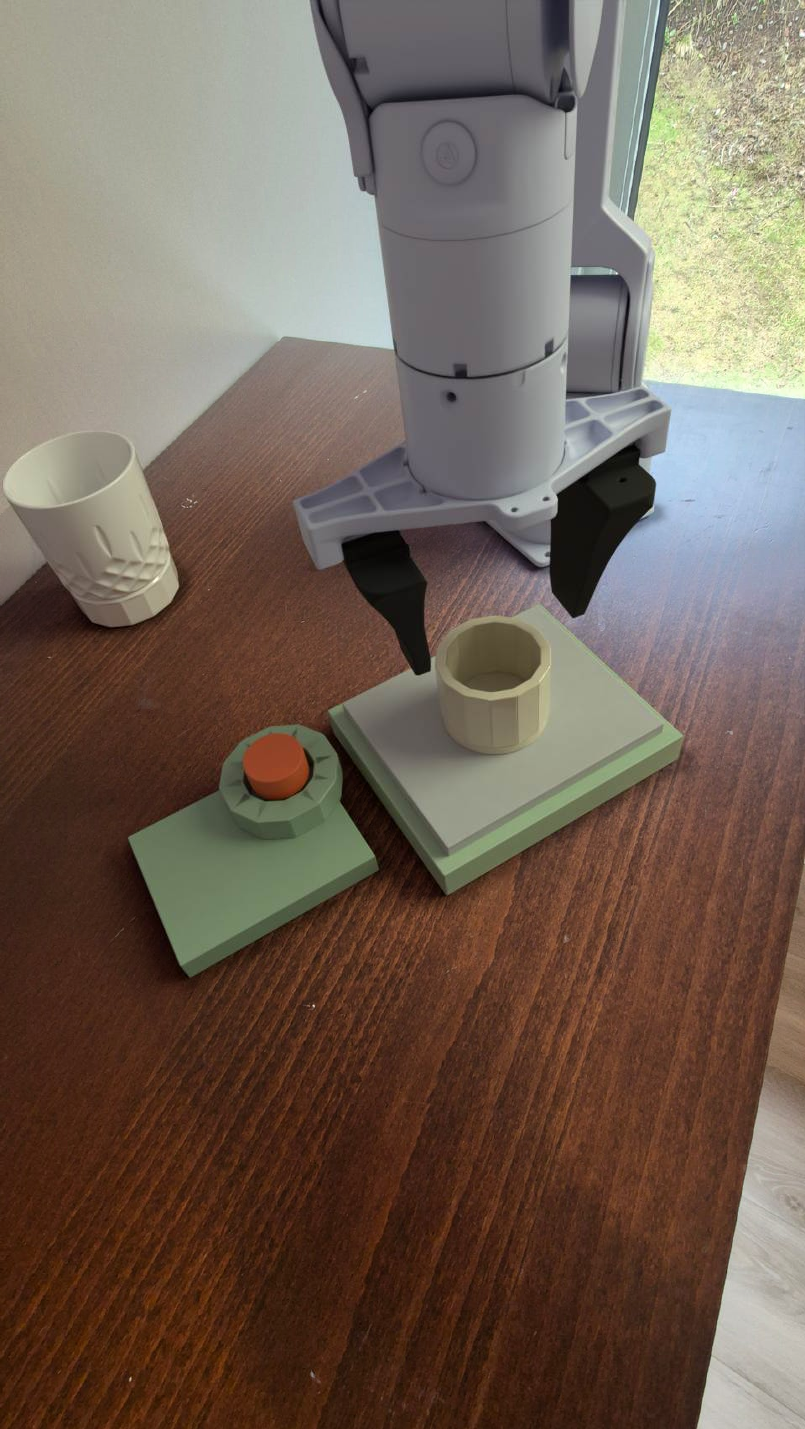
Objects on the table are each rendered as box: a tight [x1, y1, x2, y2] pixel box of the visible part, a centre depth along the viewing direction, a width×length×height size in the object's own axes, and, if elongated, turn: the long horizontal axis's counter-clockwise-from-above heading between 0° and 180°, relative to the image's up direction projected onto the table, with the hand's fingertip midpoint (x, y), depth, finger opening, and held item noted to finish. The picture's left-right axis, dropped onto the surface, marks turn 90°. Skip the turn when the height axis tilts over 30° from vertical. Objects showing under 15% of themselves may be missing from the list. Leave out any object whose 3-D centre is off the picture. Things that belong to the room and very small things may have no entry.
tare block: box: [127, 724, 380, 978], centre depth 40 cm, size 11×9×3 cm
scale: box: [327, 603, 684, 896], centre depth 43 cm, size 14×12×3 cm
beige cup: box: [435, 614, 551, 755], centre depth 40 cm, size 5×6×4 cm
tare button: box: [243, 733, 309, 800], centre depth 40 cm, size 3×3×2 cm
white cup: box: [1, 429, 180, 628], centre depth 52 cm, size 8×8×10 cm
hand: (493, 630), depth 37 cm, fingers open, 7 cm apart
